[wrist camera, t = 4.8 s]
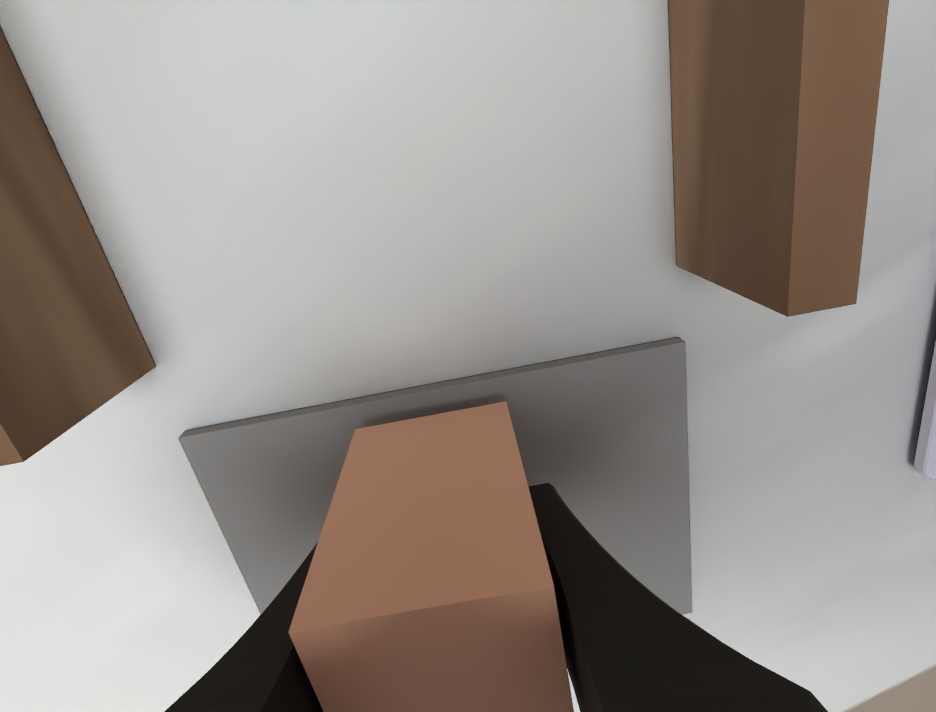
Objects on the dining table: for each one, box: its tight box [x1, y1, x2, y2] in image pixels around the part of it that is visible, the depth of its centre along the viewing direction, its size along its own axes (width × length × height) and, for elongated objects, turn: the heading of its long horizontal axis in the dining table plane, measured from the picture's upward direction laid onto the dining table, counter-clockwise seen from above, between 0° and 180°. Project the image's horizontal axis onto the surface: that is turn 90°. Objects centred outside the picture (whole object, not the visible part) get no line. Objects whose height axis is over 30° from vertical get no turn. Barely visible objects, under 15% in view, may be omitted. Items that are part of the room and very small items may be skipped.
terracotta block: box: [288, 401, 574, 712], centre depth 11 cm, size 4×4×6 cm
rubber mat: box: [178, 337, 692, 614], centre depth 16 cm, size 14×10×1 cm
